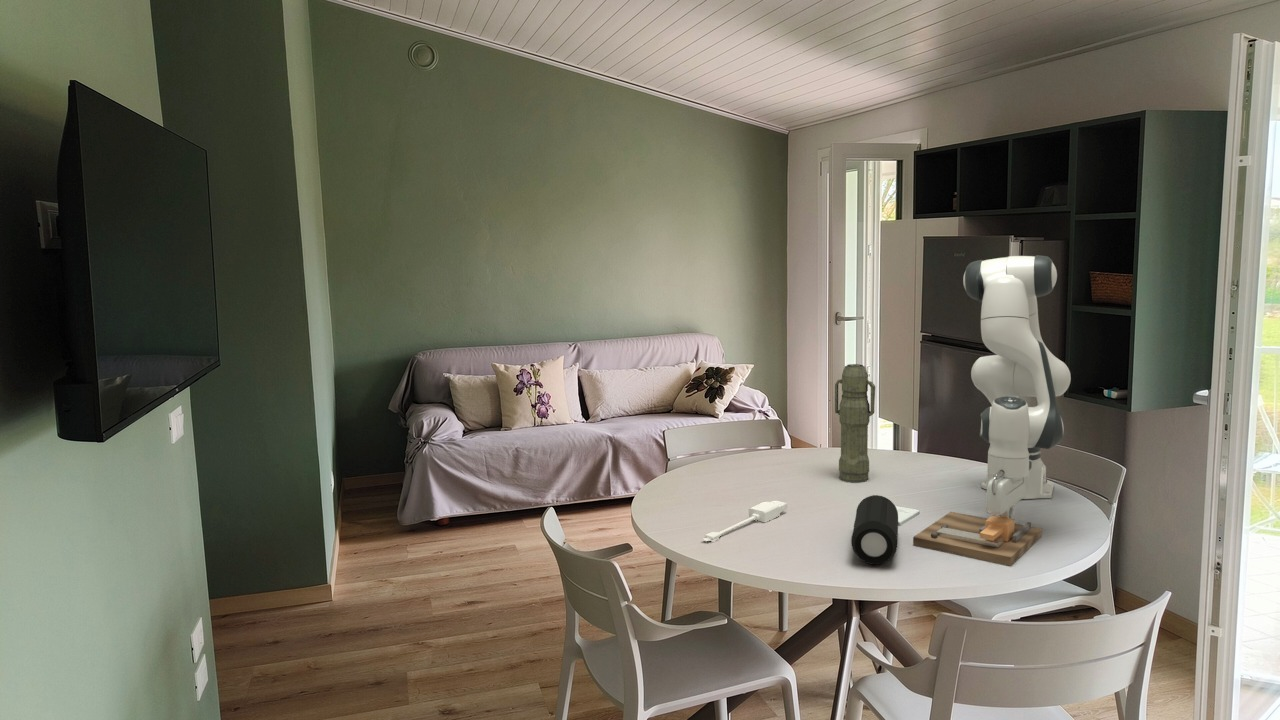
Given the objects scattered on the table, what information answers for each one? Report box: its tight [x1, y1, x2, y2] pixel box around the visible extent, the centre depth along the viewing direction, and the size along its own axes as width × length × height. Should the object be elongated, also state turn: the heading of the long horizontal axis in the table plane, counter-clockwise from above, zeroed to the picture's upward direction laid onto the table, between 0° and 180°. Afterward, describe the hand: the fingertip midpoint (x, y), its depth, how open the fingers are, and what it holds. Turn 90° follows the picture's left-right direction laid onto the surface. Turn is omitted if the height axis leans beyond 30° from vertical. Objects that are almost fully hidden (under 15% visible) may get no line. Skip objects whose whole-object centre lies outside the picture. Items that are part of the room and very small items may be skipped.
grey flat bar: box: [937, 527, 1004, 547], centre depth 195 cm, size 4×14×1 cm, turn 50°
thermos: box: [834, 363, 876, 484], centre depth 253 cm, size 9×12×35 cm
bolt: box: [980, 514, 1016, 542], centre depth 193 cm, size 12×5×4 cm, turn 140°
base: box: [912, 511, 1043, 567], centre depth 199 cm, size 24×22×4 cm
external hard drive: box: [895, 505, 920, 527], centre depth 219 cm, size 2×8×12 cm
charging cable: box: [703, 500, 788, 541], centre depth 213 cm, size 5×32×3 cm, turn 136°
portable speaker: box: [850, 494, 899, 565], centre depth 195 cm, size 26×10×10 cm, turn 163°
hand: (1005, 523), depth 199 cm, fingers closed
